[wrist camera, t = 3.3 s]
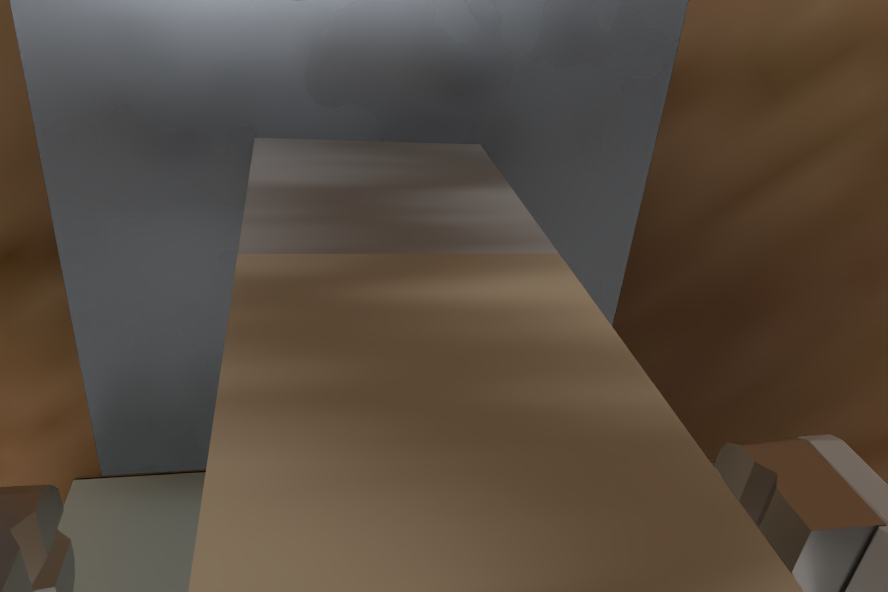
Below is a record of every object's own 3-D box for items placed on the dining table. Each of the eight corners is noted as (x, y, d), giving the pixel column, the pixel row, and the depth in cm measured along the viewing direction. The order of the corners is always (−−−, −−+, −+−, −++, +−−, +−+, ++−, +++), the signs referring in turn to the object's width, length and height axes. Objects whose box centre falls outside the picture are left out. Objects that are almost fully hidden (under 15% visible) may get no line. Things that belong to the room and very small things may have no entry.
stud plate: (675, -53, 14) (826, -27, 10) (571, 422, 20) (641, 557, 16) (10, -113, 12) (-136, -112, 8) (110, 446, 18) (56, 613, 14)
